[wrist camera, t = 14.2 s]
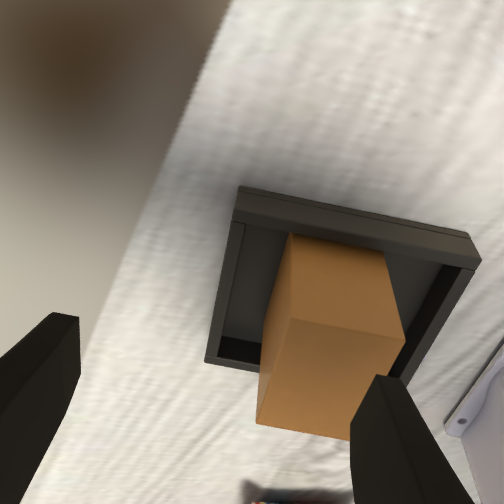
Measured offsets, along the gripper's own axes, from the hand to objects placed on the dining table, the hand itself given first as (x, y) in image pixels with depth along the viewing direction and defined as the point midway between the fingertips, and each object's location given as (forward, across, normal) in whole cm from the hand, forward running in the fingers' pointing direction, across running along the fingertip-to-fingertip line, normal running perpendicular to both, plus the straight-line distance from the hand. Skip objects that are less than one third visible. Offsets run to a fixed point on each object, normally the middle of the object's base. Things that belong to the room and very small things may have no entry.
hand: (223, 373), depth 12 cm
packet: (+10, -4, +4) cm, 12 cm away
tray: (+10, -4, +5) cm, 12 cm away
